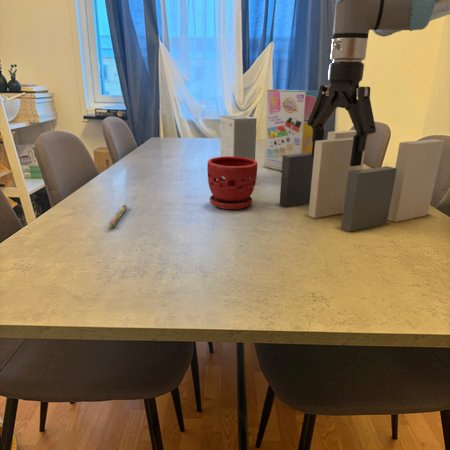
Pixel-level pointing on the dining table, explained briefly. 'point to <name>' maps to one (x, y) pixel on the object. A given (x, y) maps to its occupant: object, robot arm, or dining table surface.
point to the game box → (288, 124)
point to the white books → (409, 175)
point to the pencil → (117, 216)
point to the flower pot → (231, 181)
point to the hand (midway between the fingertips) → (334, 161)
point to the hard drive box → (238, 136)
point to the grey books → (355, 191)
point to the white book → (330, 176)
